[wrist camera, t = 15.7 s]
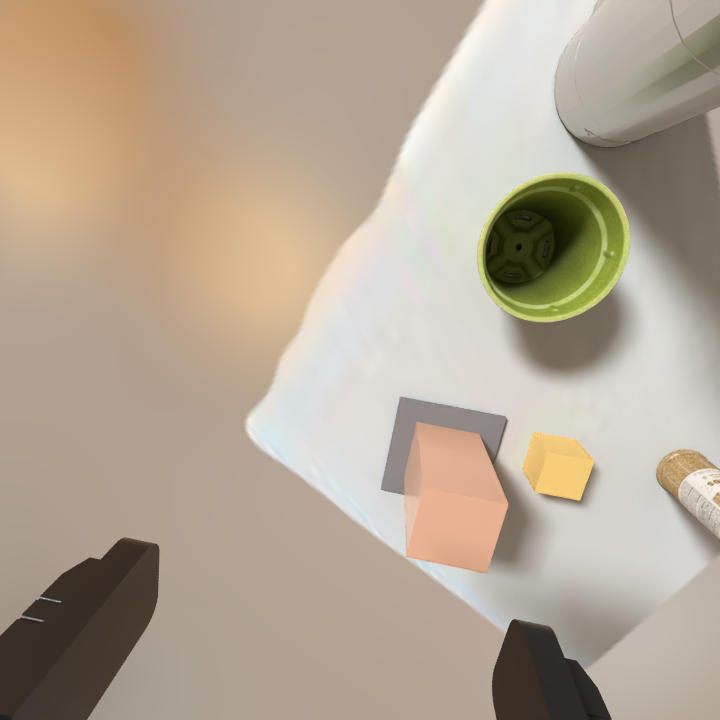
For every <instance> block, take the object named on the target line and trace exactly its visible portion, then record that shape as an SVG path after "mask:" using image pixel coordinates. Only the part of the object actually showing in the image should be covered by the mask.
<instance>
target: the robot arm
mask: <svg viewBox="0 0 720 720" xmlns="http://www.w3.org/2000/svg"><path fill="white" fill-rule="evenodd" d="M554 95H555V103H556V107H557V110H558V113H559V116H560V118H561V120H562V122H563V123H564V125H565V126H566V128H567V129H568V130H569V131H570V132H571V133H572V134H573V135H574V136H575V137H576V138H578V139H580V140H582V141H583V142H585V143H587V144H591V145H594V146H598V147H616V146H622V145H626V144H628V143H631V142H634V141H637V140H640V139H643V138H644V137H646V136H648V135H651V134H653V133H656V132H658V131H661V130H664V129H666V128H669V127H671V126H674V125H676V124H678V123H681V122H683V121H686V120H688V119H691V118H693V117H695V116H698V115H700V114H703V113H705V112H707V111H710V110H712V109H715V108H717V107H719V106H720V0H598V1H597V3H596V5H595V8H594V12H593V14H592V15H591V17H590V18H589V19H588V20H587V21H586V22H585V23H584V25H583V26H582V27H581V28H580V29H579V30H578V32H577V33H576V34H575V35H574V37H573V38H572V39H571V41H570V42H569V44H568V45H567V47H566V48H565V50H564V53H563V55H562V57H561V59H560V61H559V64H558V68H557V72H556V75H555V86H554ZM158 576H159V546H158V545H157V544H154V543H149V542H144V541H140V540H135V539H130V538H122V539H120V540H119V541H118V542H117V543H116V544H115V545H114V546H113V547H112V548H111V549H110V550H109V551H108V552H107V553H106V554H105V555H104V557H103V558H102V559H101V560H99V559H95V558H88V559H87V560H85V561H83V562H81V563H80V564H78V565H76V566H75V567H73V568H72V569H70V570H68V571H66V572H65V573H63V574H62V575H61V576H60V577H59V578H58V579H57V580H56V581H55V582H54V583H53V584H52V585H51V586H50V587H49V588H48V589H47V590H46V591H45V592H44V593H43V594H42V595H41V597H40V599H39V600H36V601H35V602H34V603H33V604H32V605H31V606H30V607H29V608H28V609H27V610H26V611H25V612H24V613H23V614H22V616H21V618H20V619H17V620H16V621H15V622H14V623H13V624H12V625H11V626H10V627H9V628H8V629H7V630H6V631H5V632H4V633H3V634H2V635H1V636H0V720H87V719H88V717H89V716H90V714H91V713H92V711H93V709H94V708H95V706H96V705H97V703H98V702H99V700H100V699H101V697H102V696H103V694H104V692H105V691H106V689H107V688H108V686H109V685H110V683H111V682H112V680H113V679H114V677H115V676H116V674H117V672H118V671H119V669H120V668H121V666H122V665H123V663H124V662H125V660H126V658H127V657H128V655H129V654H130V652H131V651H132V649H133V648H134V646H135V645H136V643H137V641H138V640H139V638H140V637H141V635H142V634H143V632H144V631H145V629H146V628H147V626H148V624H149V622H150V620H151V618H152V615H153V613H154V610H155V607H156V603H157V598H158V578H159V577H158ZM492 696H493V703H494V709H495V713H496V719H497V720H611V717H610V714H609V712H608V710H607V708H606V705H605V703H604V701H603V699H602V697H601V694H600V692H599V690H598V688H597V687H596V685H595V684H594V683H593V681H592V680H591V679H590V677H589V676H588V675H587V674H586V672H585V671H584V670H583V668H582V667H581V666H580V664H579V663H578V662H577V661H576V660H571V659H566V658H564V655H563V653H562V650H561V648H560V645H559V643H558V640H557V638H556V635H555V633H554V631H553V630H552V629H551V627H549V626H545V625H540V624H535V623H531V622H526V621H521V620H516V619H514V620H512V621H511V623H510V625H509V628H508V630H507V633H506V636H505V639H504V642H503V645H502V648H501V650H500V653H499V656H498V659H497V662H496V665H495V668H494V672H493V680H492Z"/></svg>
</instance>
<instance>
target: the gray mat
mask: <svg viewBox="0 0 720 720" xmlns="http://www.w3.org/2000/svg"><path fill="white" fill-rule="evenodd" d="M417 422H420V423H425V424H430V425H436V426H441V427H446V428H451V429H456V430H462V431H467V432H472V433H477V434H480V437H481V439H482V442H483V444H484V446H485V449H486V451H487V454H488V456H489V458H490V461H491V463H492V466H493V463H494V460H495V456H496V453H497V449H498V446H499V442H500V439H501V436H502V432H503V429H504V425H505V422H506V417H505V416H500V415H494V414H489V413H484V412H479V411H473V410H468V409H463V408H457V407H452V406H447V405H441V404H436V403H431V402H425V401H420V400H415V399H410V398H404V397H400V401H399V405H398V410H397V415H396V420H395V425H394V429H393V434H392V439H391V444H390V448H389V453H388V458H387V463H386V468H385V472H384V477H383V482H382V487H381V490H385V491H390V492H395V493H400V494H405V488H404V475H405V471H406V466H407V462H408V458H409V453H410V449H411V444H412V440H413V436H414V431H415V427H416V423H417Z"/></svg>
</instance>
